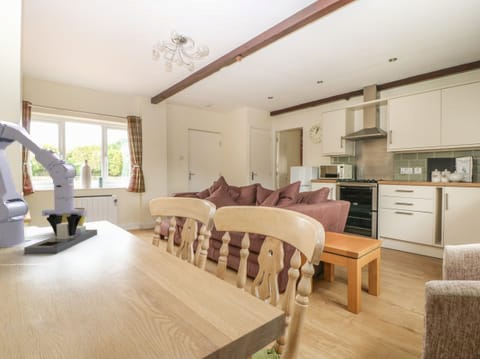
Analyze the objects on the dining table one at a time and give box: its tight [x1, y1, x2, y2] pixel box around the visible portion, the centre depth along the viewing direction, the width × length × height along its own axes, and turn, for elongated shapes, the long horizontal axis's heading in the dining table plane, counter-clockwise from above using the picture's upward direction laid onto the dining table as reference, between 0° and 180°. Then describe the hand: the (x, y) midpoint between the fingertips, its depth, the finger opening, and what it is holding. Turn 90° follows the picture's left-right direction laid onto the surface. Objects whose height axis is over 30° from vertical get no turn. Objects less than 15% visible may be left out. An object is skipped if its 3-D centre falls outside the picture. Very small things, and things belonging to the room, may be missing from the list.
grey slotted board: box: [23, 229, 98, 255], centre depth 93 cm, size 10×24×2 cm, turn 1°
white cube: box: [75, 225, 87, 234], centre depth 101 cm, size 4×4×4 cm
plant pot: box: [61, 207, 87, 226], centre depth 112 cm, size 10×10×10 cm
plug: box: [57, 223, 73, 239], centre depth 93 cm, size 4×4×7 cm
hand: (65, 235), depth 93 cm, fingers open, 4 cm apart
